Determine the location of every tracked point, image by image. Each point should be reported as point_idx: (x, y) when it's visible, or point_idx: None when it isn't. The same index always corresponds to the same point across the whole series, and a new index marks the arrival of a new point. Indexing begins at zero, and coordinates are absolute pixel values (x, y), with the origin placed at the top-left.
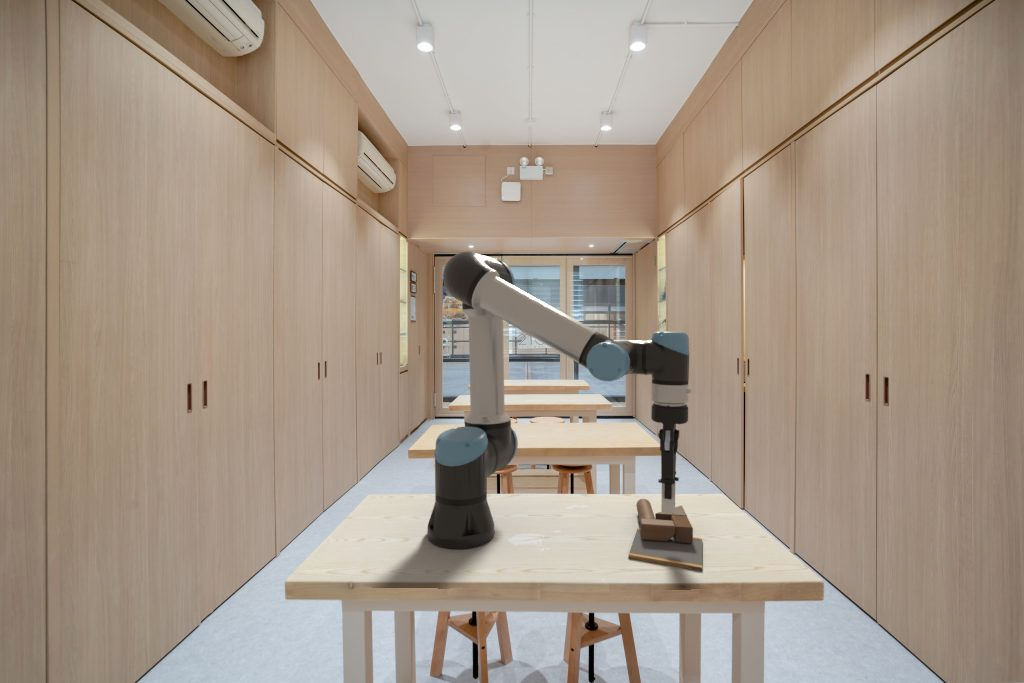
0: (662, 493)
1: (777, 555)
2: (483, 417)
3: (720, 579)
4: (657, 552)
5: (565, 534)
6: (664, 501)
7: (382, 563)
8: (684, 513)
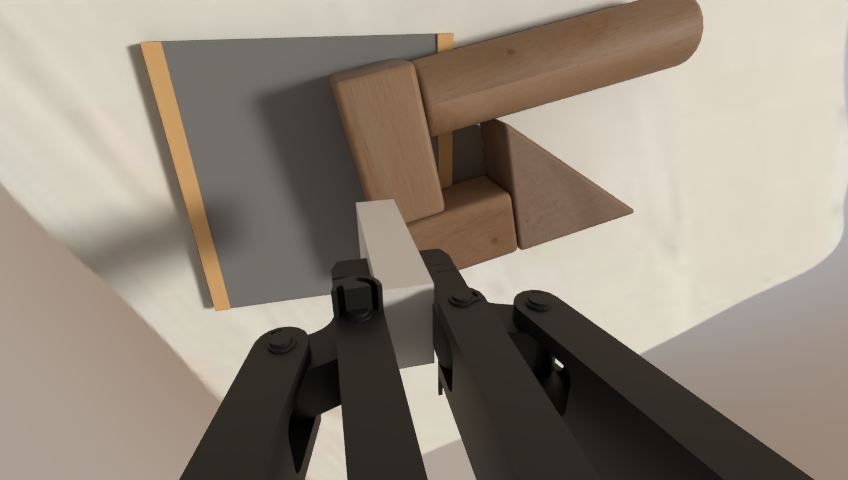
0: (368, 254)
1: (434, 434)
2: None
3: (195, 353)
4: (249, 158)
5: None
6: (363, 243)
7: None
8: (540, 239)
